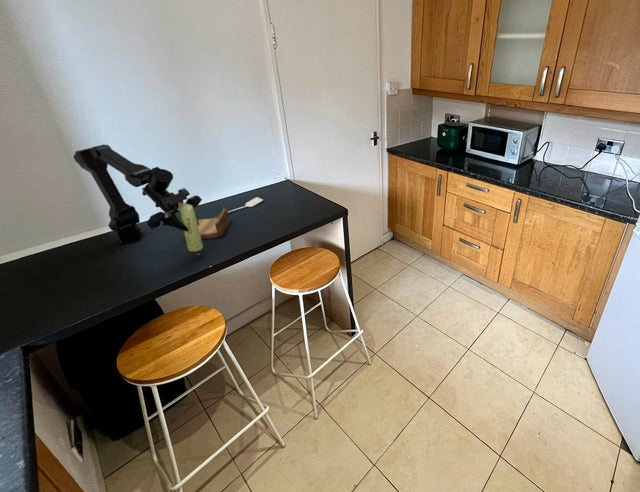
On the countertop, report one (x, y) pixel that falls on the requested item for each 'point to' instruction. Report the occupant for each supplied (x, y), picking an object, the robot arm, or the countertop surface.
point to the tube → (190, 227)
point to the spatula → (247, 204)
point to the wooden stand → (214, 226)
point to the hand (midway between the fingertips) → (193, 227)
